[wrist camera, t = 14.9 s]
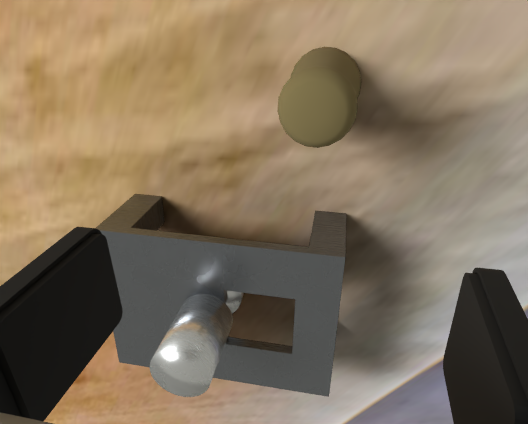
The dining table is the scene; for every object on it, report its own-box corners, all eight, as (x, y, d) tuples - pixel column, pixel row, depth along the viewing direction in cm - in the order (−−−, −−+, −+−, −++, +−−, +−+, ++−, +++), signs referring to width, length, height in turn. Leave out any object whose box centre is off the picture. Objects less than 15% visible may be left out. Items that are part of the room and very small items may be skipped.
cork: (371, 57, 34) (379, 77, 24) (348, 127, 37) (347, 170, 27) (300, 38, 34) (279, 50, 24) (282, 109, 37) (258, 145, 27)
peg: (243, 269, 41) (208, 355, 31) (244, 309, 43) (211, 401, 33) (195, 263, 42) (146, 345, 32) (198, 303, 44) (153, 391, 34)
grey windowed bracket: (346, 213, 40) (345, 257, 33) (332, 338, 47) (328, 396, 40) (135, 193, 44) (93, 229, 37) (151, 313, 51) (119, 362, 44)
